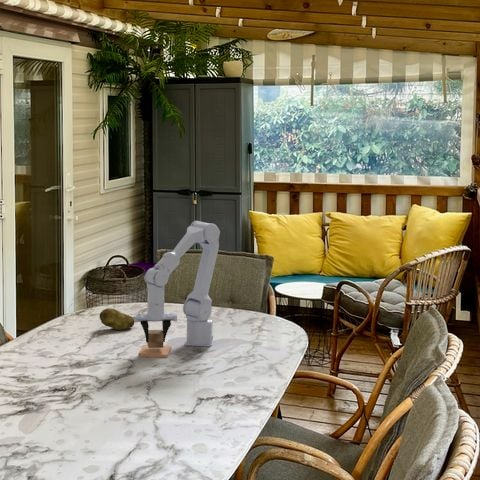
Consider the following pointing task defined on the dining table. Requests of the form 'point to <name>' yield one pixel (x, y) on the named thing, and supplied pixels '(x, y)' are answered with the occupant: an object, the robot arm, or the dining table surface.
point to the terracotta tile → (155, 351)
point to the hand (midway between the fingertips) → (155, 341)
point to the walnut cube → (155, 339)
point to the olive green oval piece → (116, 319)
